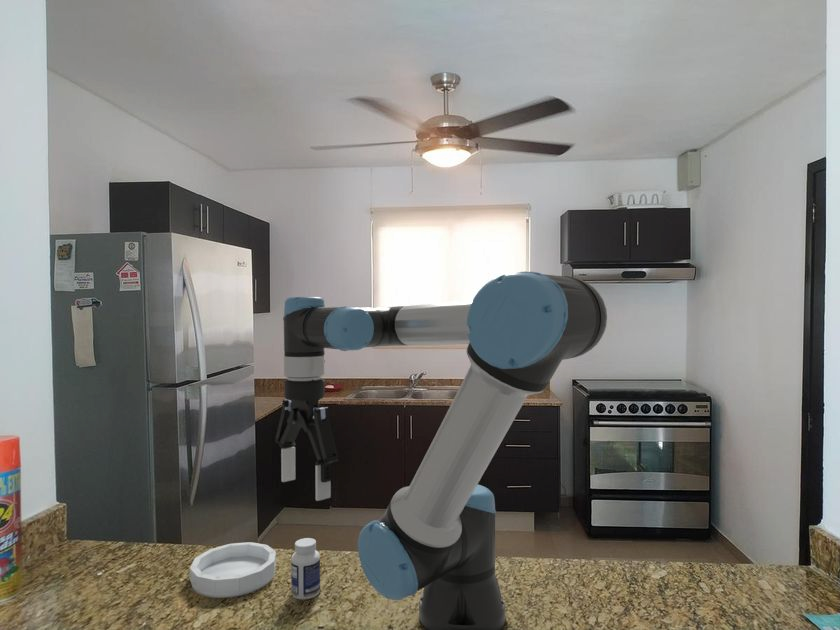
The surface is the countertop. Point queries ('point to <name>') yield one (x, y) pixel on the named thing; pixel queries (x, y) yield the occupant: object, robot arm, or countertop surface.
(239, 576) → the dish
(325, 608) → the countertop surface
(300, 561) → the pill bottle
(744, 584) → the countertop surface
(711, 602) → the countertop surface
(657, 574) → the countertop surface
